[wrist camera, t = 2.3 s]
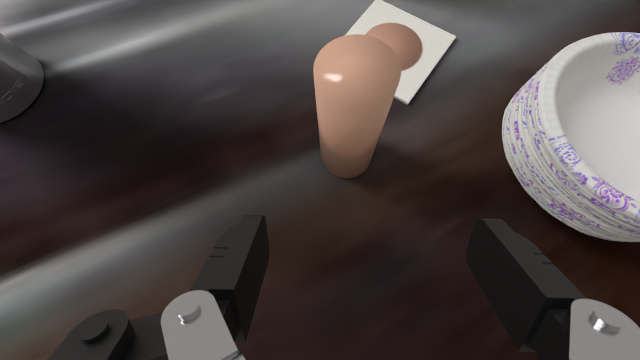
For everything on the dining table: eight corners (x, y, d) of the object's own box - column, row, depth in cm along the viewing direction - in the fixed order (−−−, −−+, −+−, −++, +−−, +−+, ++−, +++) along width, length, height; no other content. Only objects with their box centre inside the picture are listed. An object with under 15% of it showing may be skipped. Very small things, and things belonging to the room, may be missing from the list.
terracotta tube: (311, 160, 27) (296, 78, 15) (339, 123, 28) (345, 21, 16) (353, 188, 26) (370, 123, 14) (381, 148, 27) (417, 59, 15)
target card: (326, 59, 30) (326, 56, 30) (376, 0, 33) (377, -3, 32) (407, 104, 28) (408, 102, 28) (454, 38, 31) (456, 35, 30)
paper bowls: (639, 99, 28) (755, 34, 20) (676, 258, 23) (845, 252, 15) (478, 84, 29) (531, 18, 21) (484, 233, 24) (553, 216, 17)
